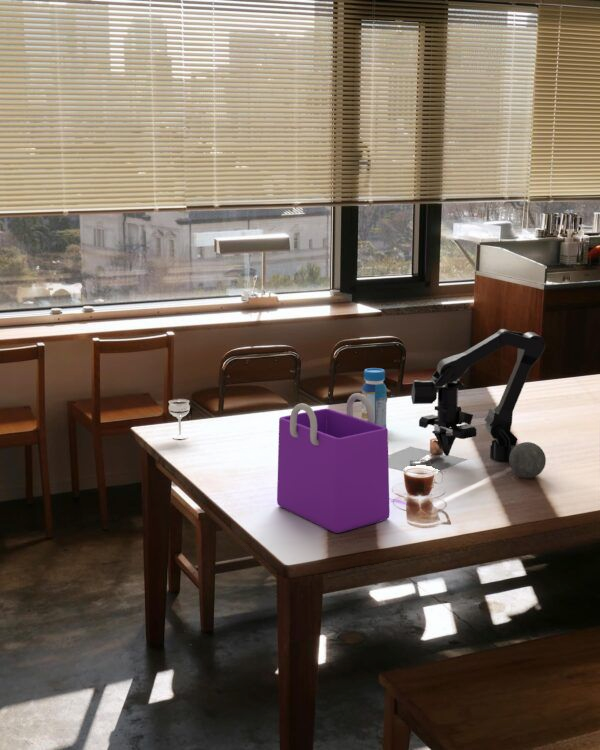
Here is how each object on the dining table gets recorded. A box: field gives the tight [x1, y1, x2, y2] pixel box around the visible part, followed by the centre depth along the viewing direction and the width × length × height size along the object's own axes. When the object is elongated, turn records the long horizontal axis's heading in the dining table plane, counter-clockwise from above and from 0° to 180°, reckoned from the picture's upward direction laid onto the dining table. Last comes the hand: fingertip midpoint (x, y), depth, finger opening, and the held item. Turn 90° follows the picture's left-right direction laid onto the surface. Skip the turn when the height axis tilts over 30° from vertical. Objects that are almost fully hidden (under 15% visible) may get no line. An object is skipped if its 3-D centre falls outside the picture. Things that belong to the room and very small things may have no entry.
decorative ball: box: [508, 441, 547, 479], centre depth 286 cm, size 10×10×10 cm
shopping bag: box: [276, 392, 390, 534], centre depth 257 cm, size 28×22×30 cm
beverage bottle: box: [361, 367, 388, 428], centre depth 333 cm, size 8×8×20 cm
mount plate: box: [388, 446, 467, 472], centre depth 299 cm, size 20×21×1 cm
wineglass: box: [168, 398, 191, 436], centre depth 326 cm, size 7×7×12 cm
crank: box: [410, 437, 444, 466], centre depth 297 cm, size 15×6×5 cm, turn 145°
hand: (446, 455), depth 299 cm, fingers closed
